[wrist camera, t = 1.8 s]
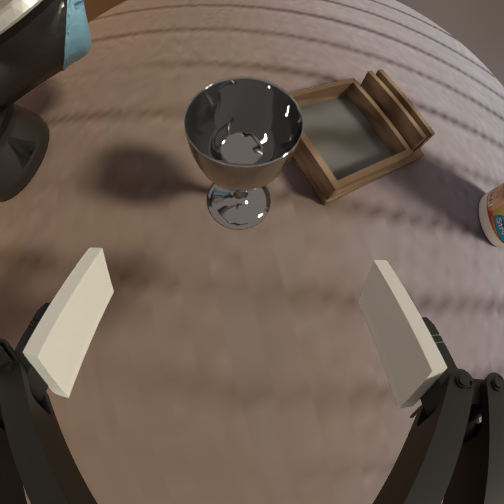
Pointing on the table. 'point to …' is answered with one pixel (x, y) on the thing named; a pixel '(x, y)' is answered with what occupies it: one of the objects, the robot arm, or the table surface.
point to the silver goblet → (242, 144)
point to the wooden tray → (356, 133)
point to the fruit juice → (493, 215)
